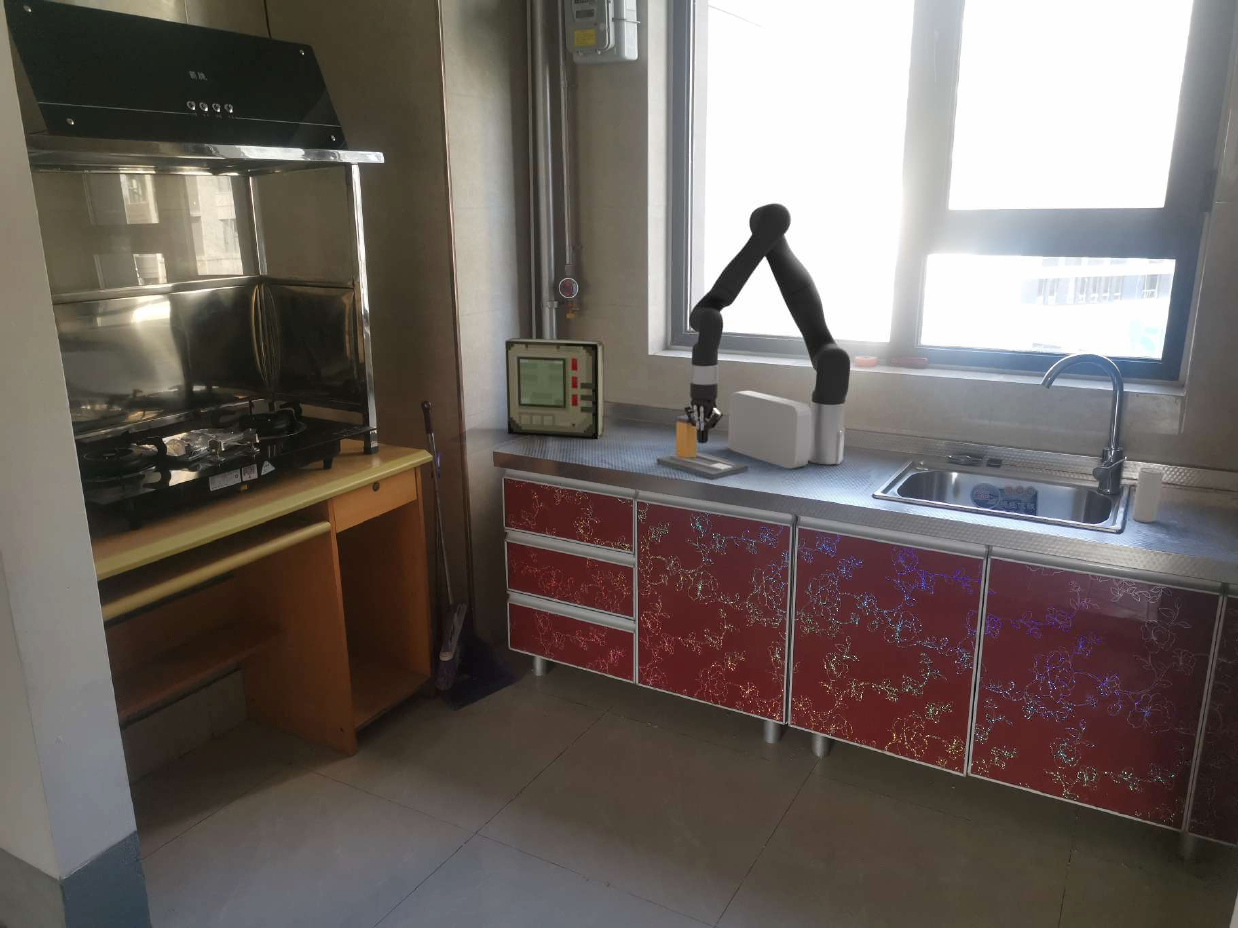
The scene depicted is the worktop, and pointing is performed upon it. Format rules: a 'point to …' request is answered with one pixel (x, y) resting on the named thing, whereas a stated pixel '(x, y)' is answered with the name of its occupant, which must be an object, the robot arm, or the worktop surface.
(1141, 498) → the beverage can
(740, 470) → the plate
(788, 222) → the robot arm
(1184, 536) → the worktop surface
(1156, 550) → the worktop surface
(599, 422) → the control panel
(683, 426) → the handle
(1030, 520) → the worktop surface
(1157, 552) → the worktop surface
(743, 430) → the rounded white slab
